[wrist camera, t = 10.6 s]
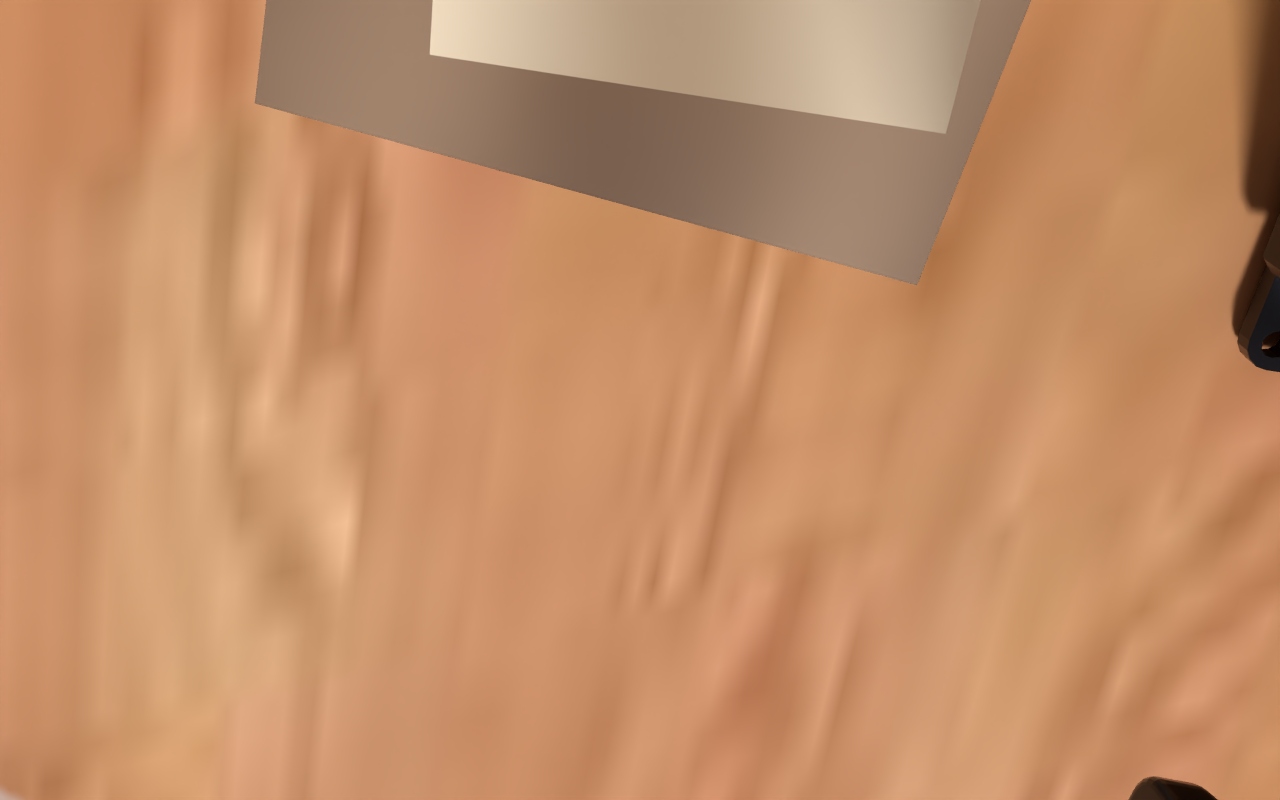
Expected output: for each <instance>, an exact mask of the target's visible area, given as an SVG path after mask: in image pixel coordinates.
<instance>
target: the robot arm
mask: <svg viewBox="0 0 1280 800" xmlns="http://www.w3.org/2000/svg"><path fill="white" fill-rule="evenodd" d="M1263 258H1264V260H1265V262H1266V264H1267V265H1266V268H1265V270H1264V272H1263V275H1262V277H1261V280H1260V282H1259V285H1258V287H1257V290H1256V292H1255V295H1254V297H1253V300H1252V302H1251V304H1250V307H1249V309H1248V312H1247V314H1246V317H1245V319H1244V322H1243V324H1242V327H1241V329H1240V332H1239V336H1238V341H1237V343H1238V346H1239V350H1240V352H1241V353H1242V354H1243V355H1244V356H1245V357H1246V358H1247V359H1248V360H1249V361H1251V362H1252V363H1253V364H1254V365H1255V366H1256V367H1259V368H1262V369H1265V370H1270V371H1276V372H1280V339H1279V341H1278V342H1277V343H1276V345H1274V346H1272V347H1270V348H1269V349H1262V342H1263V341H1264V340H1265V338H1266V337H1267V336H1268V335H1270V334H1272V333H1273V332H1279V331H1280V213H1279V216H1278V218H1277V221H1276V223H1275V226H1274V228H1273V231H1272V233H1271V236H1270V238H1269V241H1268V243H1267V246H1266V248H1265V251H1264V254H1263ZM1129 800H1217V799H1216V798H1215V797H1214V796H1213V795H1211V794H1210V793H1209V792H1208V791H1207V790H1205V789H1204V788H1202V787H1200V786H1198V785H1196V784H1193V783H1189V782H1183V781H1178V780H1172V779H1167V778H1161V777H1147V778H1145V779H1143V780H1142V781H1141V782H1139V783H1138V784H1137V786H1136V787H1135V789H1134V790H1133V792H1132V794H1131V796H1130V798H1129Z"/></svg>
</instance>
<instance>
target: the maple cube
mask: <svg viewBox="0 0 1280 800" xmlns="http://www.w3.org/2000/svg"><path fill="white" fill-rule="evenodd" d="M980 1H981V0H433V4H432V21H431V39H430V55H435V56H442V57H448V58H455V59H461V60H468V61H474V62H481V63H487V64H494V65H500V66H507V67H513V68H520V69H526V70H533V71H539V72H546V73H552V74H559V75H565V76H572V77H578V78H585V79H592V80H598V81H605V82H611V83H618V84H624V85H631V86H637V87H644V88H650V89H657V90H663V91H670V92H676V93H683V94H689V95H696V96H702V97H709V98H715V99H722V100H728V101H735V102H741V103H748V104H754V105H761V106H767V107H774V108H780V109H787V110H794V111H800V112H807V113H813V114H820V115H826V116H833V117H839V118H846V119H852V120H859V121H865V122H872V123H878V124H885V125H891V126H898V127H904V128H911V129H917V130H924V131H930V132H937V133H943V134H946V131H947V127H948V124H949V120H950V116H951V112H952V108H953V104H954V101H955V97H956V93H957V89H958V85H959V81H960V78H961V74H962V70H963V66H964V62H965V58H966V55H967V51H968V47H969V43H970V39H971V35H972V32H973V28H974V24H975V20H976V16H977V12H978V8H979V5H980Z"/></svg>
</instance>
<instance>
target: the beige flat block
mask: <svg viewBox="0 0 1280 800" xmlns="http://www.w3.org/2000/svg"><path fill="white" fill-rule="evenodd" d="M1030 1H1031V0H981V1H980V5H979V8H978V12H977V16H976V20H975V24H974V28H973V32H972V35H971V39H970V43H969V47H968V51H967V55H966V58H965V62H964V66H963V70H962V74H961V78H960V81H959V85H958V89H957V93H956V97H955V101H954V104H953V108H952V112H951V116H950V120H949V124H948V127H947V131H946V134H943V133H937V132H930V131H924V130H917V129H911V128H904V127H898V126H891V125H885V124H878V123H872V122H865V121H859V120H852V119H846V118H839V117H833V116H826V115H820V114H813V113H807V112H800V111H794V110H787V109H780V108H774V107H767V106H761V105H754V104H748V103H741V102H735V101H728V100H722V99H715V98H709V97H702V96H696V95H689V94H683V93H676V92H670V91H663V90H657V89H650V88H644V87H637V86H631V85H624V84H618V83H611V82H605V81H598V80H592V79H585V78H578V77H572V76H565V75H559V74H552V73H546V72H539V71H533V70H526V69H520V68H513V67H507V66H500V65H494V64H487V63H481V62H474V61H468V60H461V59H455V58H448V57H442V56H435V55H430V39H431V21H432V4H433V0H266V9H265V18H264V27H263V36H262V45H261V54H260V63H259V72H258V81H257V89H256V98H255V103H256V104H259V105H263V106H266V107H270V108H274V109H277V110H281V111H285V112H288V113H292V114H296V115H299V116H303V117H307V118H310V119H314V120H317V121H321V122H325V123H328V124H332V125H336V126H339V127H343V128H347V129H350V130H354V131H357V132H361V133H365V134H368V135H372V136H376V137H379V138H383V139H387V140H390V141H394V142H398V143H401V144H405V145H408V146H412V147H416V148H419V149H423V150H427V151H430V152H434V153H438V154H441V155H445V156H448V157H452V158H456V159H459V160H463V161H467V162H470V163H474V164H478V165H481V166H485V167H489V168H492V169H496V170H499V171H503V172H507V173H510V174H514V175H518V176H521V177H525V178H529V179H532V180H536V181H539V182H543V183H547V184H550V185H554V186H558V187H561V188H565V189H569V190H572V191H576V192H580V193H583V194H587V195H590V196H594V197H598V198H601V199H605V200H609V201H612V202H616V203H620V204H623V205H627V206H631V207H634V208H638V209H641V210H645V211H649V212H652V213H656V214H660V215H663V216H667V217H671V218H674V219H678V220H681V221H685V222H689V223H692V224H696V225H700V226H703V227H707V228H711V229H714V230H718V231H722V232H725V233H729V234H732V235H736V236H740V237H743V238H747V239H751V240H754V241H758V242H762V243H765V244H769V245H772V246H776V247H780V248H783V249H787V250H791V251H794V252H798V253H802V254H805V255H809V256H813V257H816V258H820V259H823V260H827V261H831V262H834V263H838V264H842V265H845V266H849V267H853V268H856V269H860V270H864V271H867V272H871V273H874V274H878V275H882V276H885V277H889V278H893V279H896V280H900V281H904V282H907V283H911V284H914V285H917V284H918V281H919V279H920V276H921V274H922V271H923V269H924V266H925V264H926V261H927V259H928V256H929V254H930V251H931V249H932V246H933V244H934V241H935V239H936V236H937V234H938V231H939V229H940V226H941V224H942V221H943V219H944V216H945V214H946V211H947V209H948V206H949V204H950V201H951V199H952V196H953V194H954V191H955V189H956V186H957V184H958V181H959V179H960V176H961V174H962V171H963V169H964V166H965V164H966V161H967V159H968V156H969V154H970V151H971V149H972V146H973V144H974V141H975V139H976V136H977V134H978V131H979V129H980V126H981V124H982V121H983V119H984V116H985V114H986V111H987V109H988V106H989V104H990V101H991V99H992V96H993V94H994V91H995V89H996V86H997V84H998V81H999V79H1000V76H1001V74H1002V71H1003V69H1004V66H1005V64H1006V61H1007V59H1008V56H1009V54H1010V51H1011V49H1012V46H1013V44H1014V41H1015V39H1016V36H1017V34H1018V31H1019V29H1020V26H1021V24H1022V21H1023V19H1024V16H1025V14H1026V11H1027V9H1028V6H1029V4H1030Z"/></svg>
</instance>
